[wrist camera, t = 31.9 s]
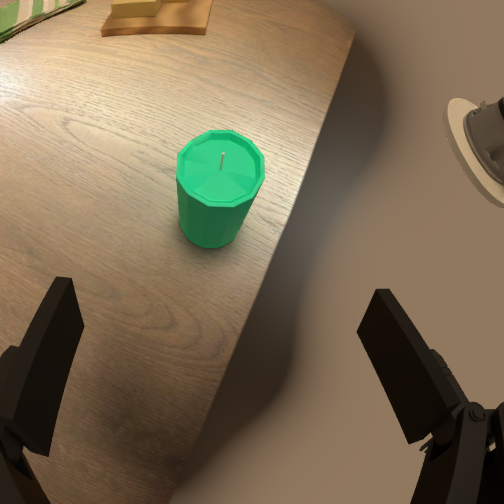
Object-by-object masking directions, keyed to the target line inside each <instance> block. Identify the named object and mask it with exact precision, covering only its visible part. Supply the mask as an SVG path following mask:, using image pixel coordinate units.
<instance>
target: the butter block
mask: <svg viewBox="0 0 504 504" xmlns="http://www.w3.org/2000/svg"><path fill="white" fill-rule="evenodd" d="M160 6H161V0H114V1H113V3H112V4H111V8H112V16H113V19H115V18H127V17H146V16H156V15H157V13H158V10H159V8H160Z"/></svg>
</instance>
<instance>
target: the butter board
mask: <svg viewBox="0 0 504 504" xmlns="http://www.w3.org/2000/svg"><path fill="white" fill-rule="evenodd" d="M212 1H213V0H189V2H178V3H165V0H161V6H160V8H159V10H158V13H157V15H156V16H146V17H127V18H115V19H113V16H112V12H111V14H110V15H109V17H108V19H107V20H106V22H105V23H104V25H103V27H102V28H101V33H102V36H112V35H126V34H151V33H175V34H200V35H205V34H206V29H207V24H208V19H209V15H210V10H211V6H212Z"/></svg>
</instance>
